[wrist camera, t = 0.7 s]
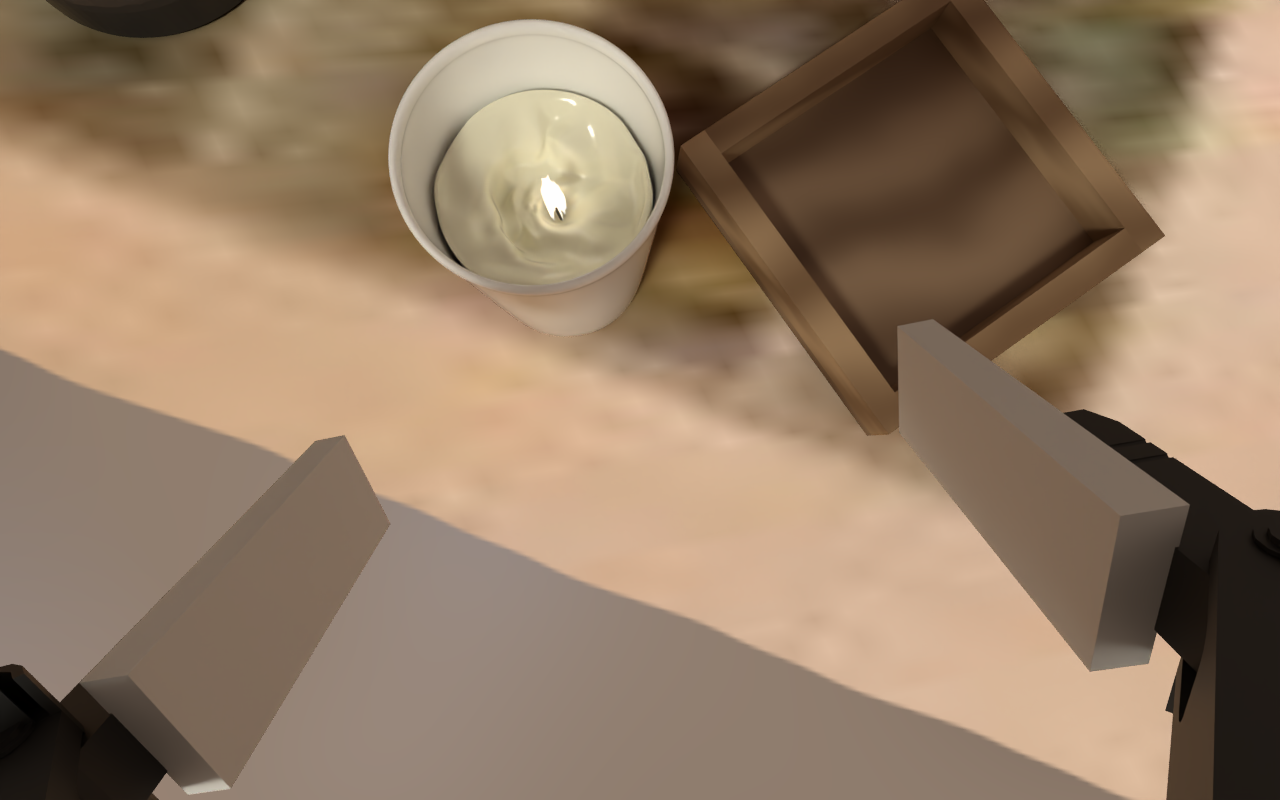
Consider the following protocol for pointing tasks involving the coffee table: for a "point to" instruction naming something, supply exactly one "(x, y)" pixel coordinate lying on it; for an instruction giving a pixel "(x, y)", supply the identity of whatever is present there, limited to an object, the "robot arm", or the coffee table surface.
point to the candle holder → (535, 170)
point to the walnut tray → (913, 196)
